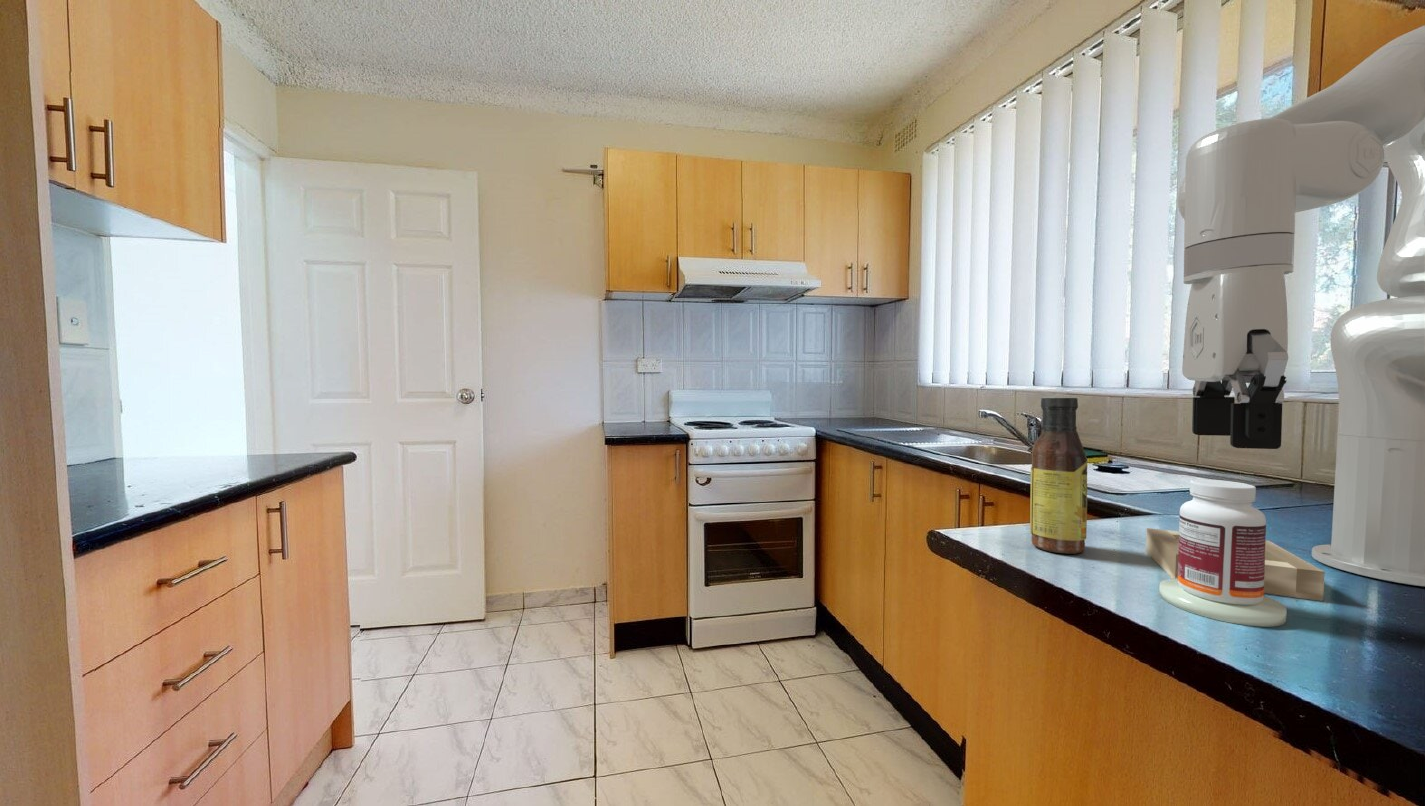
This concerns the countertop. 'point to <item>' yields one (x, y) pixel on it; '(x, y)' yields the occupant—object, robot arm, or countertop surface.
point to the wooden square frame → (1280, 566)
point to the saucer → (1224, 607)
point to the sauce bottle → (1058, 480)
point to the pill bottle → (1222, 543)
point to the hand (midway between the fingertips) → (1232, 440)
